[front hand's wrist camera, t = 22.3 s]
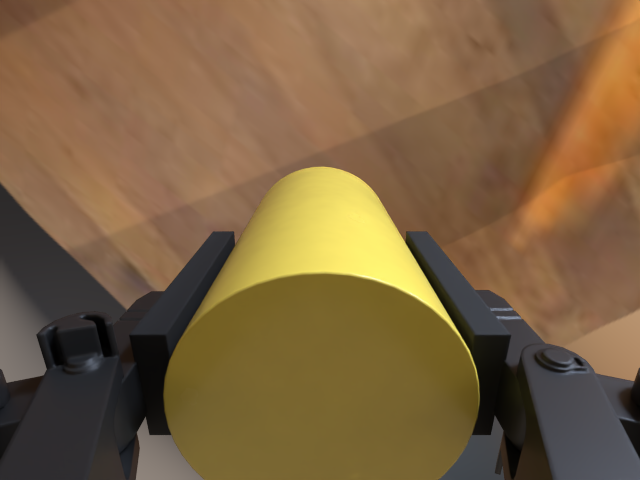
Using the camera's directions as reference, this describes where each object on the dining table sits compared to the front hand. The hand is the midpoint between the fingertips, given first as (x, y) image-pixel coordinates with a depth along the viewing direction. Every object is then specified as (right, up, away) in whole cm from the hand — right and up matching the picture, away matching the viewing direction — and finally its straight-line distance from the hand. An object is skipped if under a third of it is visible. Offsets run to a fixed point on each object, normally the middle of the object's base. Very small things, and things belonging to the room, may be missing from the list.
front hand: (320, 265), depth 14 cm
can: (0, +1, +4) cm, 4 cm away
